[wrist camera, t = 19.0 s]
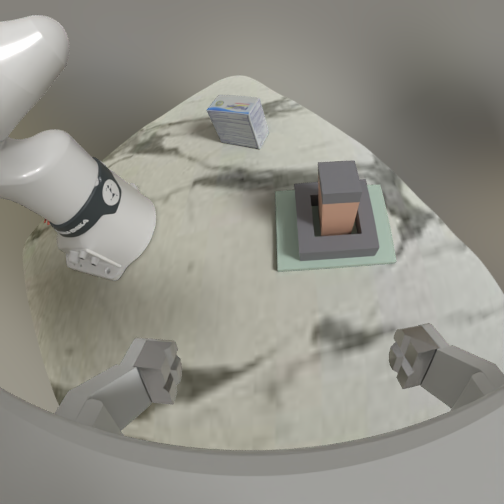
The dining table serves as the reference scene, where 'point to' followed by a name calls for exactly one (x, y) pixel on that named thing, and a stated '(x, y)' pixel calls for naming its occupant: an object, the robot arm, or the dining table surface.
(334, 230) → the plug
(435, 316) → the dining table surface
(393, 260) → the board
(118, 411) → the robot arm
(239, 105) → the medicine box
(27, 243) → the dining table surface
